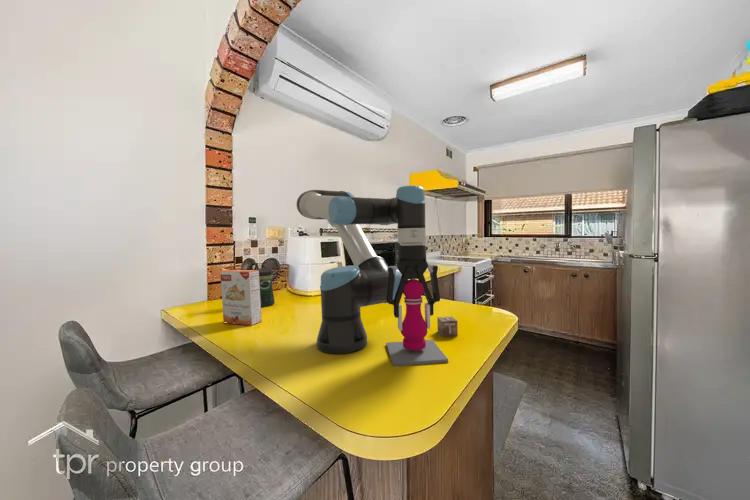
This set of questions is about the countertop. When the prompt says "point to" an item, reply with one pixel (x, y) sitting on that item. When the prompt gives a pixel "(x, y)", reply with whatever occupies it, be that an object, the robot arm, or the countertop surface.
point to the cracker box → (241, 296)
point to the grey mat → (415, 354)
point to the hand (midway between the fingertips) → (413, 327)
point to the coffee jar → (266, 287)
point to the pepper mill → (413, 317)
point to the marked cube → (447, 326)
